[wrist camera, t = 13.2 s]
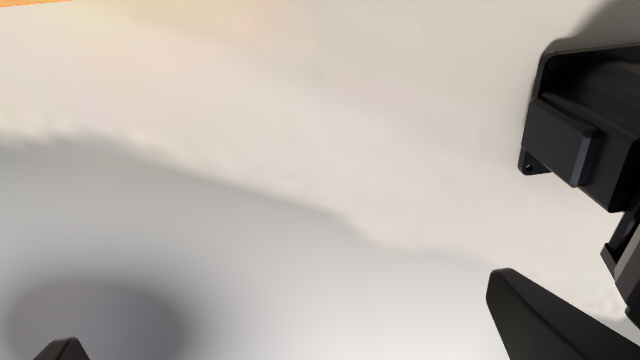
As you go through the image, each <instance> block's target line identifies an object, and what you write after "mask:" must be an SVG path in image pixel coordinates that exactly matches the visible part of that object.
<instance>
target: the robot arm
mask: <svg viewBox="0 0 640 360" xmlns="http://www.w3.org/2000/svg"><path fill="white" fill-rule="evenodd" d="M552 61H554V63H553V66H551V67H550V68H549V64H550V63H551V62H552ZM521 146H522V147H521V152H520V157H519V162H518V169H519V171H520V172H522V173H523V174H524V175H536V174H543V173H550V172H553V173H554V174H555V175H557V176H558V177H559V178H560V179H562V180H563V181H564V182H565V183H567V184H568V185H569V186H570V187H572V188H577V187H578V188H579V189H580V190H581V191H583V192H584V193H585V194H586V195H588V196H589V197H590V198H591V199H593V200H594V201H595V202H596V203H598V204H599V205H600V206H601V207H603V208H604V209H605V210H606V211H608V212H609V213H616V212H622V213H624V214H623V216H622V218H621V220H620V222H619V224H618V226H617V227H616V229H615V231H614V233H613V235H612V237H611V239H610V241H609V243H605V245H604V247H603V249H602V251H601V253H600V255H601V257H602V259H603V260H604V262H605V264H606V266H607V268H608V269H609V271H610V273H611V275H612V277H613V278H614V280H615V285H616V287H617V289H618V290H619V292H620V294H621V296H622V298H623V300H624V301H625V303H626V304H627V307H626V309H625V314H626V315H627V317H628V318H629V319H630V320H631V322H632V323H633V324H634V325H635V326H636V327H637V328H638V329H639V330H640V43H631V44H622V45H614V46H605V47H596V48H587V49H579V50H570V51H561V52H553V53H548V54H546V55H545V56H543V58H542V59H541V60H540V62H539V66H538V70H537V75H536V80H535V85H534V90H533V94H532V99H531V101H530V104H529V109H528V114H527V118H526V123H525V128H524V133H523V138H522V143H521ZM529 164H530V166H529V167H527V166H528V165H529ZM526 167H527V168H526ZM486 302H487V305H488V308H489V310H490V313H491V315H492V317H493V320H494V322H495V325H496V327H497V329H498V332H499V334H500V336H501V338H502V341H503V344H504V346H505V348H506V351H507V353H508V356H509V358H510V360H640V346H638V345H637V344H635V343H633V342H632V341H630V340H628V339H627V338H625V337H623V336H622V335H620V334H619V333H617V332H615V331H614V330H612V329H610V328H609V327H607V326H605V325H604V324H602V323H600V322H599V321H597V320H596V319H594V318H592V317H591V316H589V315H587V314H586V313H584V312H582V311H581V310H579V309H578V308H576V307H574V306H573V305H571V304H569V303H568V302H566V301H564V300H563V299H561V298H560V297H558V296H556V295H555V294H553V293H551V292H550V291H548V290H546V289H545V288H543V287H541V286H540V285H538V284H537V283H535V282H533V281H532V280H530V279H528V278H527V277H525V276H523V275H522V274H520V273H519V272H517V271H515V270H513V269H511V268H503V269H496V270H493V271H492V272H491V273H490V278H489V282H488V288H487V293H486ZM33 360H90V359H89V357H88V355H87V354H86V352H85V351H84V349H83V347H82V345H81V344H80V342H79V340H78V339H77V338H75V337H68V338H61V339H56V340H54V341H52V342H51V343H49V345H47V346H46V347H45V348H44V349H43V350H42V351H41V352H40V353H39V354H38V355H37V356H36V357H35V358H34V359H33Z"/></svg>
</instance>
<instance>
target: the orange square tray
mask: <svg viewBox="0 0 640 360" xmlns="http://www.w3.org/2000/svg"><path fill="white" fill-rule="evenodd" d="M61 1H72V0H0V7H8V6H19V5H30V4H40V3H51V2H61Z"/></svg>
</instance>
